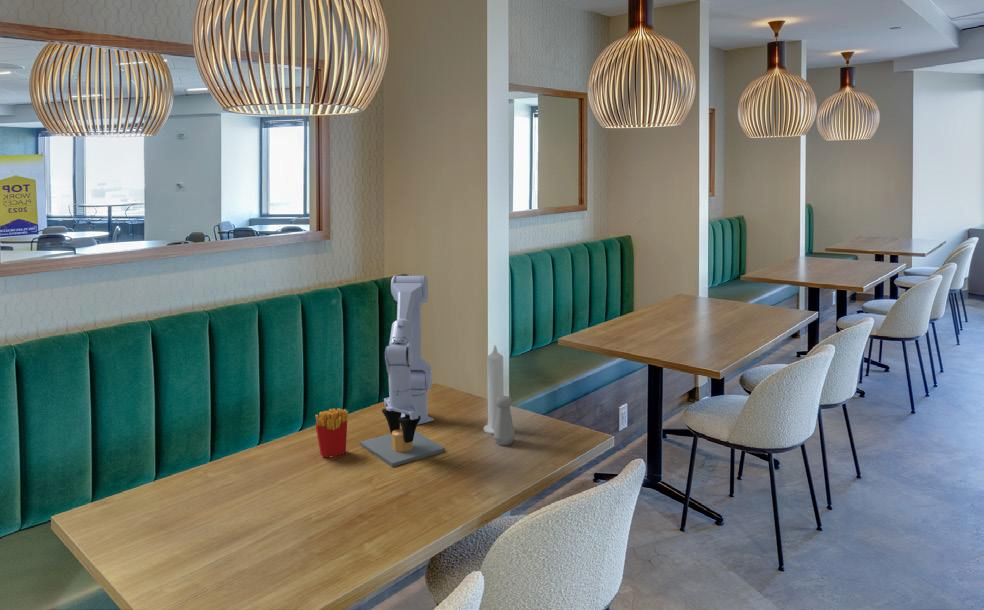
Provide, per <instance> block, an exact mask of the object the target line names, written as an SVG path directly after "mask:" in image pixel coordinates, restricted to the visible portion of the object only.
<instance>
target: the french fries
mask: <svg viewBox="0 0 984 610" xmlns="http://www.w3.org/2000/svg"><path fill="white" fill-rule="evenodd" d="M318 414H319V415H318ZM318 414H315V420H316V423H315V424H314V425H315V430H316V437H317V441H318V448H319V453H320V456H321V455H322V456H323V457H330V456H335V457H337V456H336V455H340V456H342V455H341V454H343V453H345V452H347V451H346V450H347V436H348V435H347V434H348V416H349V411H348V410H347V409H346V408H344V409H342V408H339V407H338V408H337V409H336V407H335V408H329V409H328V410H324V411H320V412H319V413H318ZM345 454H346V453H345ZM343 455H344V454H343ZM322 456H321V457H322ZM330 458H331V457H330Z"/></svg>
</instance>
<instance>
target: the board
mask: <svg viewBox="0 0 984 610" xmlns="http://www.w3.org/2000/svg"><path fill="white" fill-rule="evenodd" d="M391 435H392V434H391V433H388V434H384V435H380V436H376V437H373V438H368V439H364V440H362V441H359V442H358V443H359V446H360V445H361V446H363V447H364V448H365V450H366V449H367V450H368V452H369V451H370V452H371V453H370V452H369V453H370V454H372V453H373V454H374V456H375V455H376V457H377V458H378V457H379V458H378V459H379V460H381V461H383V462H384V463H386V464H387V465H389V466H390V467H392V468H393V466H394V467H396V466H400V464H401V465H404V464H407V462H408V463H410V462H414V461H418V460H421V459H424V458H428V457H431V456H434V455H437V454H441V453H445V452H446V447H444V446H443V445H441V444H439V443H437V442H435V441H434V440H432V439H430V438H428V437H426V436H425V435H424V434H421V433H419V432H418V431H416V430H415V434H414V438H413V448H412V449H411V450H409V451H406V452H396V451H394V450H393V449H392V437H391ZM361 446H360V447H361ZM363 447H362V448H363ZM364 448H363V449H364ZM367 450H366V451H367ZM373 454H372V455H373ZM403 463H404V464H403Z"/></svg>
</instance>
